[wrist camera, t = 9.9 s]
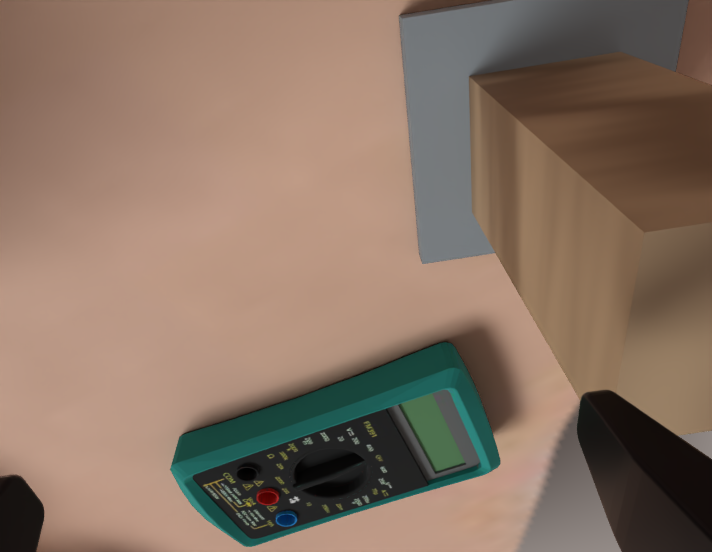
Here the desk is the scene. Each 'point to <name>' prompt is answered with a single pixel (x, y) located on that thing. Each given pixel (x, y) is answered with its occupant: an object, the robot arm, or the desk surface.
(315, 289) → the desk surface
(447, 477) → the digital multimeter
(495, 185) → the walnut block
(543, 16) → the grey pad
